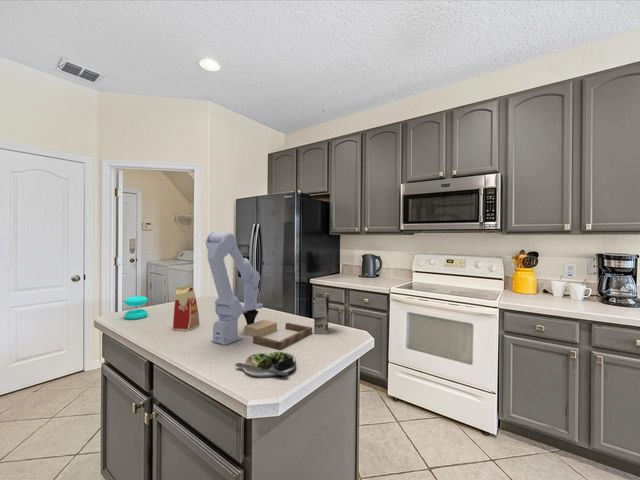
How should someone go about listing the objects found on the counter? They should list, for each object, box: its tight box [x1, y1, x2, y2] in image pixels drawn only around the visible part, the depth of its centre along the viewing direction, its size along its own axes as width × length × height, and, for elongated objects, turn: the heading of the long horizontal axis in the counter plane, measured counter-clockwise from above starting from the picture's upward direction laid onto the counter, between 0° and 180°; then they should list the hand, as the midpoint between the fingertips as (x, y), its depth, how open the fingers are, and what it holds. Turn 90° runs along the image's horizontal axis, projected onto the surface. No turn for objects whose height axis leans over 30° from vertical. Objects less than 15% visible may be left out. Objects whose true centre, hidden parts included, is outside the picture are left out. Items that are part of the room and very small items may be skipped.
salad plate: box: [235, 351, 297, 378], centre depth 97 cm, size 19×18×5 cm
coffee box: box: [313, 293, 330, 335], centre depth 136 cm, size 9×6×16 cm
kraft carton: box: [243, 319, 278, 338], centre depth 132 cm, size 12×8×4 cm, turn 147°
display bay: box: [252, 322, 313, 351], centre depth 125 cm, size 23×14×2 cm, turn 150°
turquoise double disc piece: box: [124, 295, 149, 320], centre depth 151 cm, size 10×10×10 cm
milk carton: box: [172, 284, 201, 332], centre depth 136 cm, size 9×9×20 cm
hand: (250, 326), depth 135 cm, fingers closed
